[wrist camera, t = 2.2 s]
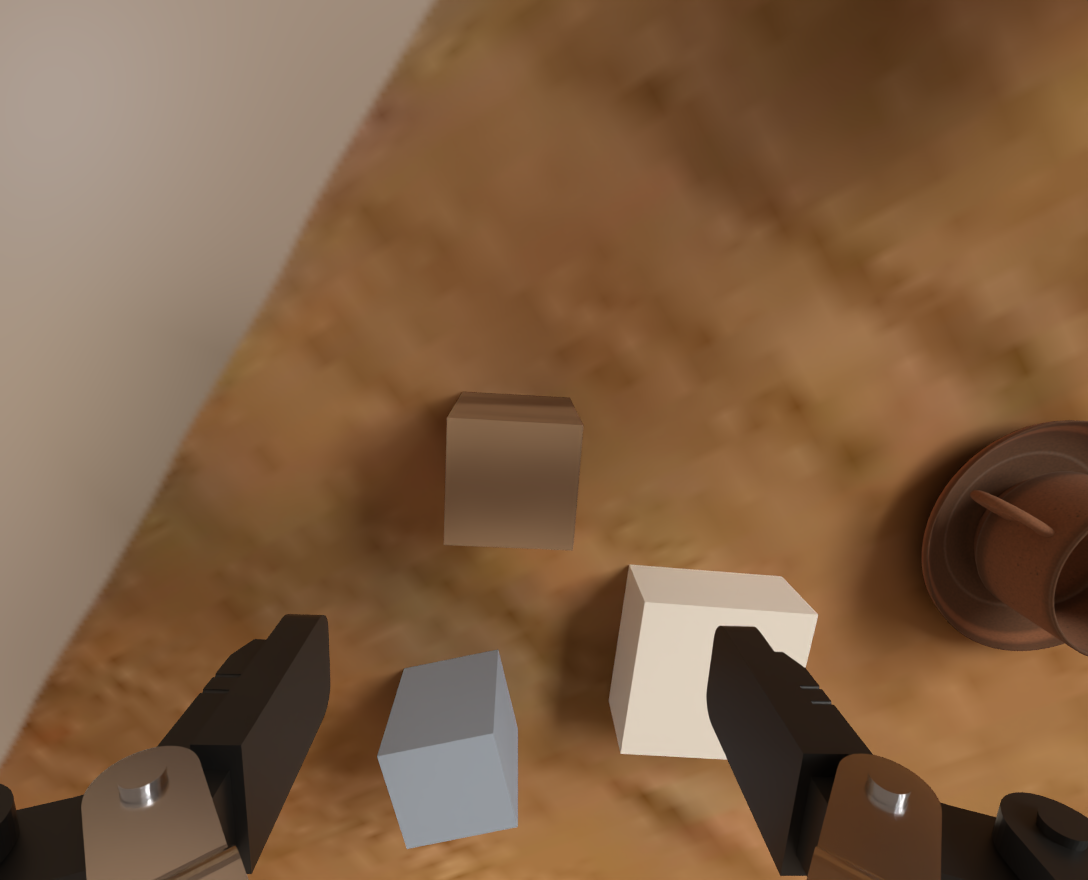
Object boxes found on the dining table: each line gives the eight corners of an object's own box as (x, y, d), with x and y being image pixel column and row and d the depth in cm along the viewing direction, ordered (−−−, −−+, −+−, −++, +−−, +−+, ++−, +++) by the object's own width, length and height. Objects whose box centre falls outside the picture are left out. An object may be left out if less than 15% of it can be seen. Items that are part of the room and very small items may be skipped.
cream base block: (628, 562, 30) (645, 602, 26) (779, 573, 30) (818, 614, 26) (607, 697, 31) (620, 753, 28) (750, 706, 32) (782, 762, 28)
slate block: (404, 668, 30) (377, 756, 24) (498, 649, 30) (493, 733, 24) (427, 746, 31) (406, 848, 26) (517, 728, 31) (517, 826, 26)
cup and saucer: (871, 613, 31) (956, 689, 25) (946, 393, 28) (1063, 420, 22) (1075, 643, 32) (1204, 724, 26) (1167, 434, 29) (1335, 469, 23)
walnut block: (462, 391, 27) (447, 417, 21) (569, 397, 27) (583, 425, 21) (459, 493, 28) (443, 544, 22) (561, 498, 28) (573, 550, 23)
